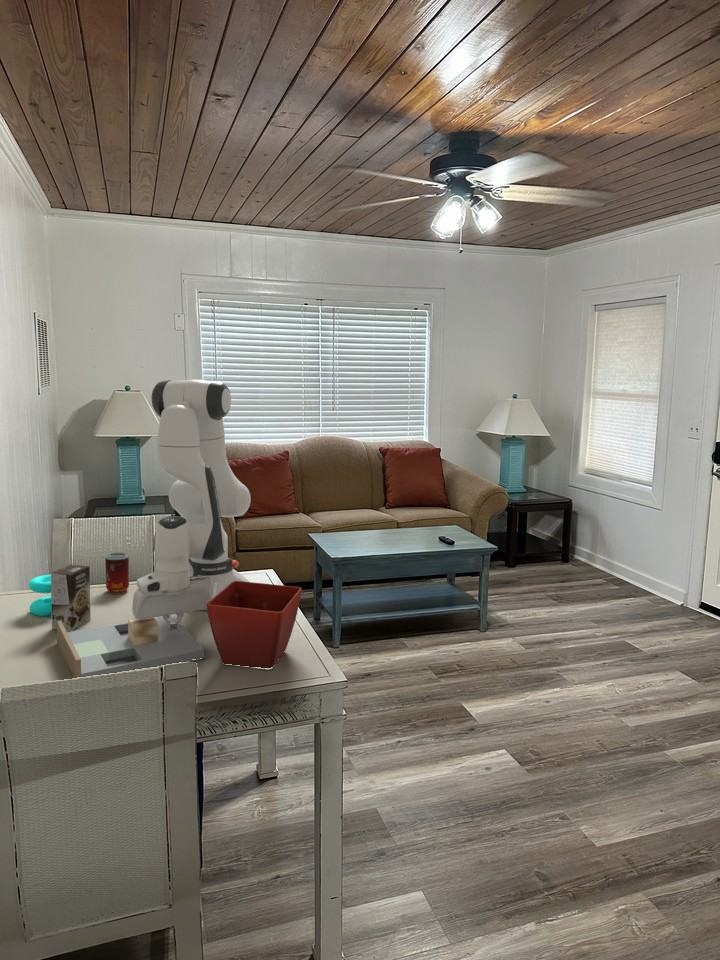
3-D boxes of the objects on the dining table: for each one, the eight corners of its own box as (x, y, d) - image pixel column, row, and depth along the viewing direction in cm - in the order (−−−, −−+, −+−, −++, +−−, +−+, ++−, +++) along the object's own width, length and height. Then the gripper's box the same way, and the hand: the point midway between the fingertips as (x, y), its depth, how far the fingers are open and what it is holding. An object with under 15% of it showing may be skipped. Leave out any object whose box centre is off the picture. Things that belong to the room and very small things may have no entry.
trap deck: (171, 623, 190) (171, 603, 189) (204, 659, 167) (204, 636, 166) (57, 642, 173) (56, 620, 172) (76, 685, 151) (76, 660, 150)
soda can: (104, 589, 216) (104, 552, 214) (127, 586, 219) (127, 550, 217) (107, 596, 210) (106, 558, 208) (130, 593, 213) (130, 556, 211)
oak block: (151, 633, 176) (151, 615, 175) (158, 641, 171) (157, 622, 170) (128, 637, 173) (128, 618, 172) (134, 645, 168) (134, 626, 167)
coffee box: (72, 631, 181) (70, 574, 178) (51, 629, 182) (49, 572, 180) (91, 620, 190) (90, 565, 187) (71, 617, 191) (70, 563, 188)
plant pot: (280, 679, 158) (281, 611, 155) (204, 670, 161) (204, 603, 159) (301, 647, 177) (302, 586, 174) (232, 640, 180) (233, 580, 177)
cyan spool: (73, 577, 195) (42, 586, 187) (74, 610, 197) (43, 619, 189) (52, 571, 201) (21, 579, 192) (53, 603, 202) (22, 612, 194)
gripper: (206, 570, 182) (206, 619, 184) (130, 580, 171) (131, 631, 173) (215, 577, 177) (214, 626, 179) (136, 587, 166) (137, 640, 168)
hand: (172, 629), depth 176 cm, fingers closed
